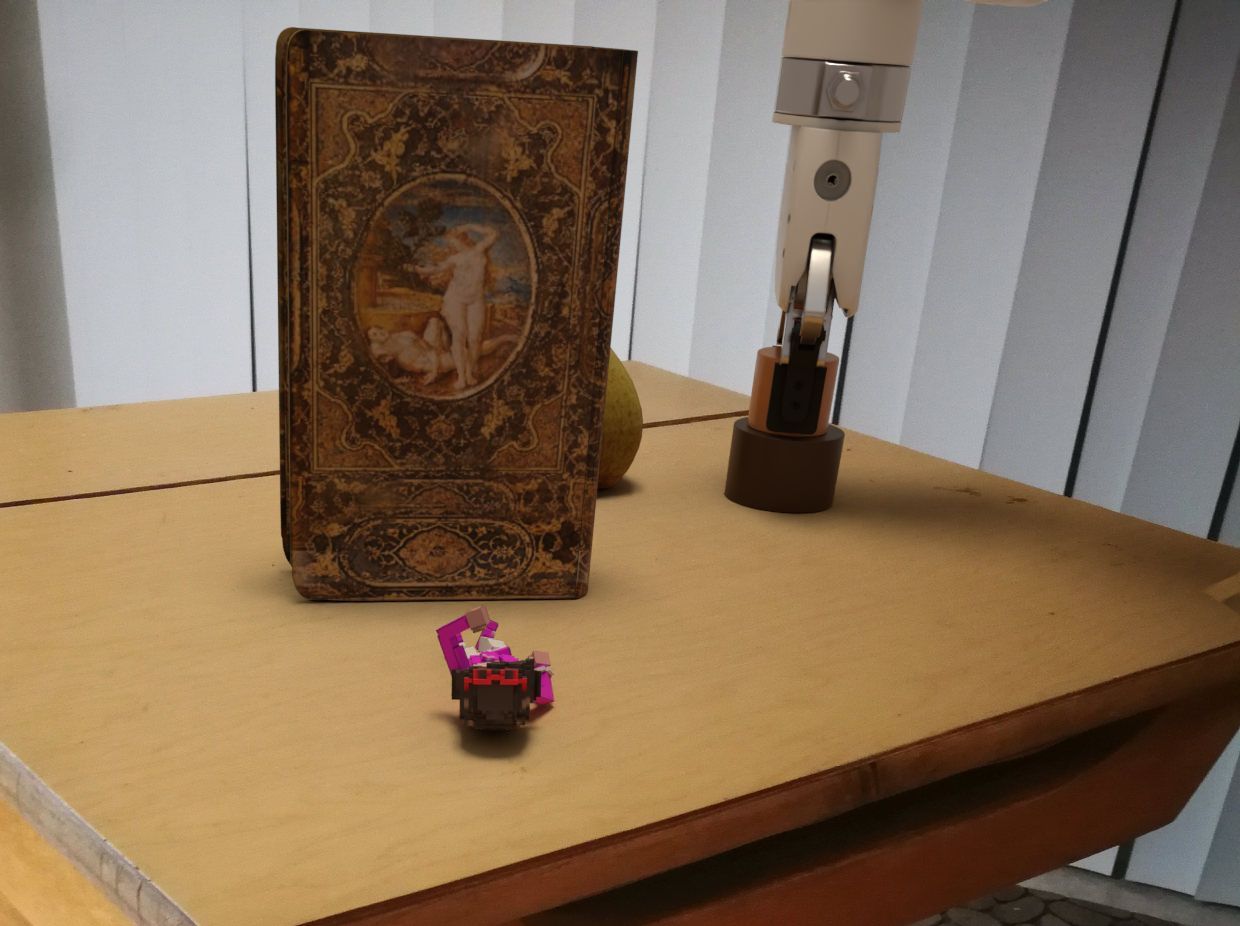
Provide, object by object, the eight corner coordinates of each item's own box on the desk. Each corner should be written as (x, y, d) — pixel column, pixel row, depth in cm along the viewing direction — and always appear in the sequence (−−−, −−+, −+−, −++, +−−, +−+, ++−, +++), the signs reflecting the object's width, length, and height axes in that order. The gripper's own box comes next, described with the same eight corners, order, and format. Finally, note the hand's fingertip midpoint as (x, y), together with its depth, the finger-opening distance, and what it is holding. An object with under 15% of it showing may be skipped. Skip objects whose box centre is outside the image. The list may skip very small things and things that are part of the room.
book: (572, 567, 86) (617, 47, 73) (598, 598, 82) (651, 51, 68) (281, 569, 83) (271, 25, 69) (291, 602, 78) (283, 27, 65)
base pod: (829, 489, 105) (841, 420, 102) (835, 517, 99) (848, 445, 96) (724, 479, 105) (733, 411, 103) (724, 507, 99) (734, 435, 97)
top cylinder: (824, 422, 101) (837, 350, 99) (829, 440, 97) (842, 364, 95) (746, 415, 102) (756, 343, 99) (747, 432, 97) (758, 357, 95)
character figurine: (415, 675, 73) (442, 748, 63) (420, 567, 71) (449, 623, 60) (531, 680, 74) (578, 752, 64) (540, 573, 72) (590, 629, 61)
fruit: (661, 486, 103) (683, 292, 96) (573, 507, 97) (590, 302, 90) (565, 459, 107) (579, 272, 101) (475, 478, 102) (485, 281, 95)
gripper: (920, 110, 82) (856, 458, 92) (891, 98, 96) (838, 400, 106) (780, 99, 83) (731, 446, 92) (772, 89, 97) (730, 390, 107)
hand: (789, 418), depth 99 cm, fingers closed on top cylinder, 5 cm apart
